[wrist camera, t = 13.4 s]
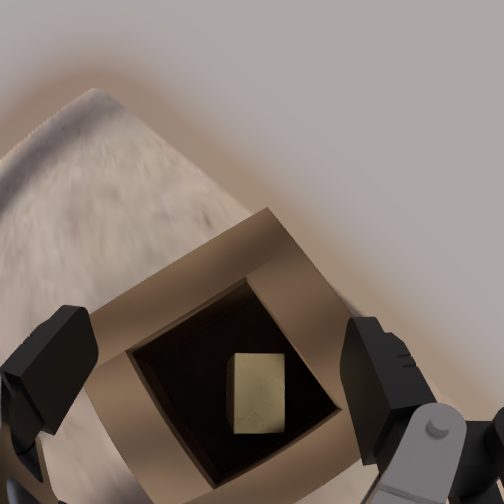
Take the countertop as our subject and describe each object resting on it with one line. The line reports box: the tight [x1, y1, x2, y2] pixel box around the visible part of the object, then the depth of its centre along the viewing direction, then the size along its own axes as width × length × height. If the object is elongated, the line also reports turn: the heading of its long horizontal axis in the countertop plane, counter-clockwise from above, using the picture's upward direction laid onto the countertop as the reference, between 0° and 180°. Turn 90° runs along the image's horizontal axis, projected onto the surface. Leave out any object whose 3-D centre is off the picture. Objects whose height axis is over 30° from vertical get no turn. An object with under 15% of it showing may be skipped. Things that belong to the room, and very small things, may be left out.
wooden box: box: [83, 207, 361, 504], centre depth 21 cm, size 15×15×13 cm
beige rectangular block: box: [226, 353, 285, 433], centre depth 22 cm, size 5×3×10 cm, turn 0°
